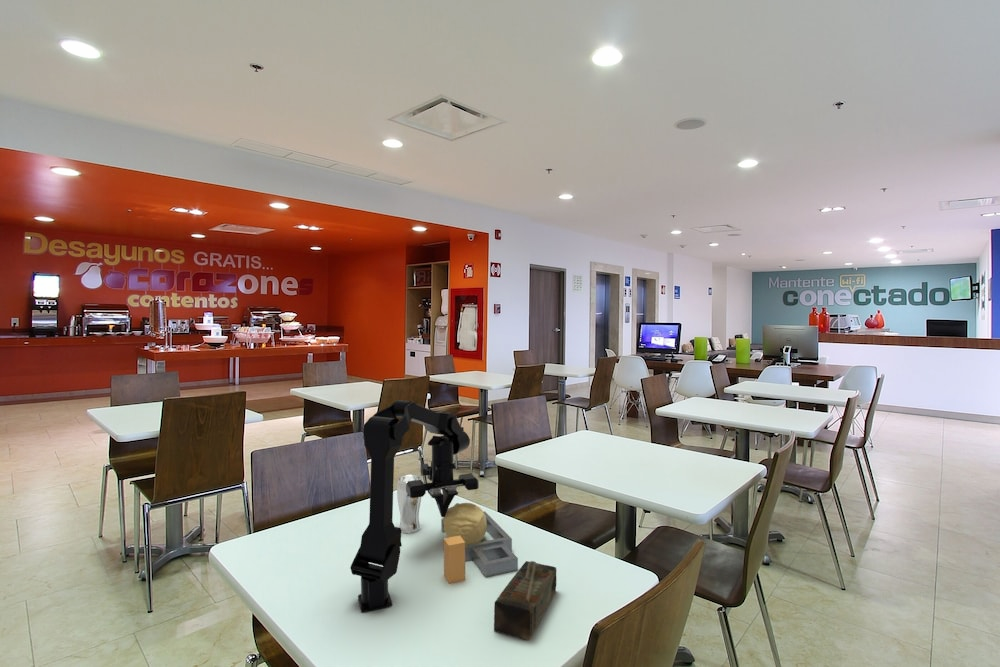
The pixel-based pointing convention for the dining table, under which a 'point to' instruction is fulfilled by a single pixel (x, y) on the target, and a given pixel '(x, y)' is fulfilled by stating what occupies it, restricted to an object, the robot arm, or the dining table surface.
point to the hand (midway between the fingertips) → (442, 516)
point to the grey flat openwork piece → (492, 551)
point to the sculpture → (465, 522)
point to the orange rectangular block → (454, 559)
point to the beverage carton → (525, 600)
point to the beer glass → (408, 506)
